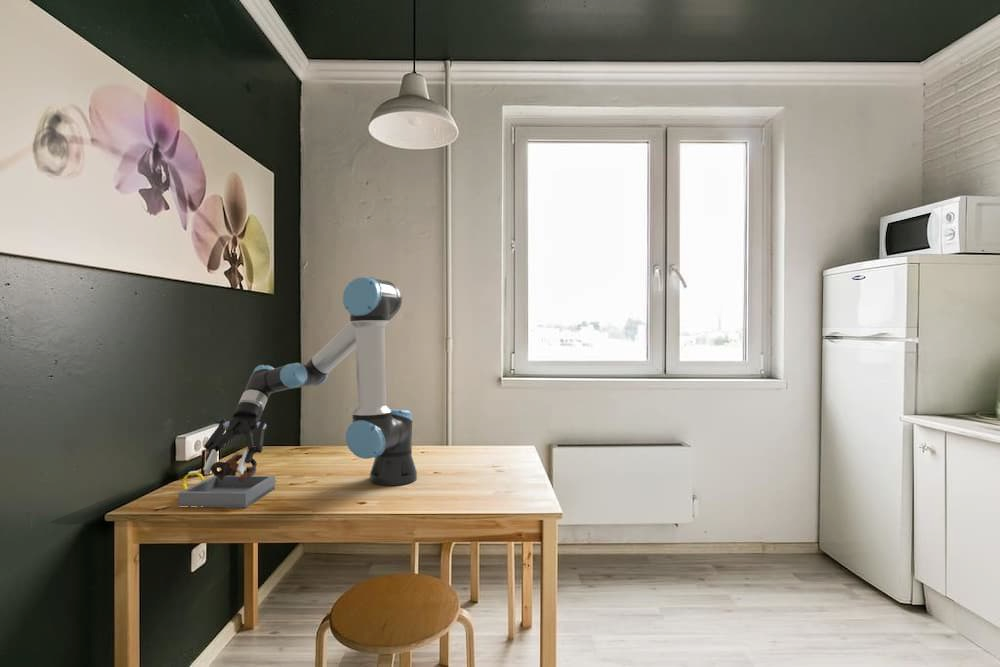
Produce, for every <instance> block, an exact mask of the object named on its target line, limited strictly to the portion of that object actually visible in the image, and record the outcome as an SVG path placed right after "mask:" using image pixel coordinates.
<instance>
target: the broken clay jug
mask: <svg viewBox="0 0 1000 667" xmlns="http://www.w3.org/2000/svg"><path fill="white" fill-rule="evenodd" d="M242 456H243V454H241V453H238V454H234V455H232V457H231V458H229V459H227V460H226V461H224V462H223V461H215V463H214V464H213V465H212V467H211V473H212V474H213V476H218V477H219V479H220V480H223V477H225V476H237V475H236V474H237V473H238V474H239V472H238V471H237V468H238V466H239V461H240V460H241V458H242ZM250 464H251V465H252V466H246V468H245V470H244V473H243V475H239V476H240V478H239V482H242V483H243V482H244V481H245V480H246V478H249V477H251V476H255V474H256V471H257V468H256V467H257V461H256V459H254V458H253V457H252V460H251V462H250ZM219 468H220V470H218V469H219Z"/></svg>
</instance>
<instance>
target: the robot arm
mask: <svg viewBox="0 0 1000 667" xmlns="http://www.w3.org/2000/svg"><path fill="white" fill-rule="evenodd" d="M402 302H403V297H402V293H401V291H400V289H399V287H398V286H397V285H395V284H394V283H392V282H391V281H388V280H382V279H378V278H374V277H373V276H372V277H371V276H370V277H367V276H358V277H356V278H354V279H352V280H351V281H350V282H349V283H348V284H347V285H346V286H345V288H344V290H343V292H342V304H343V307H344V308H345V310H346V311H347V312H348V314H349V318H350V321H349V322H347V324H346V325H345V326H344V327H343V328H342V329H341V330H340V331H339V332H338V333H336V335H334V336H333V337H332V338H331V339H330V340H329V341H328V342H327V343H326V344H325V345H324V346H323V347H322V348H321V349H320V350H319V351H318V352H317V353H316V354H315V355H314V356H312V358H310V360H308V361H307V362H306V363H302V364H301V363H300V362H294V363H288V364H286V365H282V366H279V367H275V368H274V367H273V366H271V365H269V364H266V365H264V364H261V365H260V364H259V365H258V366H256V367H255V368H254V369H253V372H252V373H251V374H250V376H249V379H248V382H247V384H246V386H245V389H244V391H243V393H242V395H241V397H240V400H239V402H238V404H237V406H236V409H235V410H234V413H233V417H232V418H231V419H230V420H228V421H225V420H224V419H222V420H220V421H219V423H218V425H217V427H216V429H215V430H214V432H212V434H211V435H210V437H209V438H208V440H206V442H205V444H204V445H203V446H204V449H205V450H206V452H208V453H207V454H206V456H205V457H204V460H205V461H206V463H205V464H204V467H203V468H202V470H203V471H204V472H205V474H206V475H210V474H211V473H212V471H211V467H212V465H213V464H214V463H216V462H217V461H216V460H217V458H218V456H219V453H218V452H219V451H220V450H221V449H222V448H223V447H224V446H225V445H226V444H227V443H228V442H229V441H230V440H231V439H232V438H235V437H236V436H237V435H240V436H241V435H242V436H243V435H245V437H246V442H247V449H244V451H243V454H242V455H243V456H242V458H241V459H240V460H239V462H238V464H239V466H238V468H237V471H238V472H239V473H238V472H237V473H238V474H239V476H241V475H243V473H244V471H246V469H247V465H248V464H251V460H252V458H253V456H254V455H255V454H256V453H259V454H261V453H262V451H263V446H264V438H265V432H266V431H267V430H266V429H267V428H268V425H267V424H266V422H265V420H261V418H262V415H263V411H264V410H265V407H266V404H267V403H268V400H269V398H270V396H271V394H273V393H278V392H281V391H286V390H290V389H297V388H303V387H312V386H313V387H314V386H319V385H321V384H323V383H326V382H327V380H328V377H329V373H330V372H331V371H333V369H335V367H338V366H337V365H339V364H340V363H341V362H342V361H343V360H344V359H345V358H346V357H348V356H349V354H351V353H352V352H353V351H354V350H355V352H356V353H355V354H356V355H355V356H356V361H355V362H356V394H357V395H356V397H357V400H356V401H357V402H356V403H357V407H356V408H355V409H354V410H353V411H352V423H351V424H350V425H349V427H348V428H347V429H346V432H345V443H346V446H347V448H348V449H349V451H350V452H351V453H353V455H354V456H355V457H357V458H361V459H365V460H368V459H373V458H374V461H373V463H372V466H371V470H370V473H369V481H370V482H371V483H372V484H375V485H379V486H400V485H408V484H410V483H413V482H415V481H416V480H417V479H418V474H417V473H418V472H417V468H416V465H415V462H414V459H413V456H412V451H413V450H412V448H413V445H412V444H413V441H412V440H413V414H412V412H411V410H408V409H395V408H393V409H392V408H391V409H390V407H389V406H387V380H386V378H387V377H386V376H387V375H386V373H387V372H386V333H385V331H386V330H385V327H387V325H388V324H389V323H390V321H391V320H392V319H393V318H394V317H395V315H396V314H398V312H399V311H400V309H401V307H402ZM260 420H261V421H260ZM256 428H257V430H256V437H255V438H256V439H255V443H254V436H253V435H254V434H253V431H254V430H255V429H256Z"/></svg>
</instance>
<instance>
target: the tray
mask: <svg viewBox="0 0 1000 667" xmlns="http://www.w3.org/2000/svg"><path fill="white" fill-rule="evenodd" d="M240 476H241V475H235V476H225V477H223V480H220V479H219V477H218V476H215V475H213V476H211V477H209V478H207V479H205V480H204V481H202V480H201V481H200V482H198V483H196V484H194V485H192V486H190V487H188V488H187V489H183V490H181V491H179V492H178V500H177V501H178V503H177V504H178V505H177V506H188V507H191V506H197V507H201V506H203V507H216V508H215V509H246V508H248V507H249V506H251V505H253V504H254V503H256V502H257V501H259V500H260V499H262V498H263V497H265V496H266V494H267V495H268V494H270V493H271V492H272V490H273V491H274V490H275V489H276V475H252V476H251V477H249V478H246V480H245V481H244V482H243V483H242V482H239V478H240ZM269 492H270V493H269ZM219 507H220V508H219Z"/></svg>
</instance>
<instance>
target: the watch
mask: <svg viewBox="0 0 1000 667" xmlns="http://www.w3.org/2000/svg"><path fill="white" fill-rule="evenodd" d="M195 475H196V476H197V477H199V478H200V480H201V482H202V481H204V480H206V479H205V477H204V476H203V474H202V473H200V471H199V470H191V471H189V472H188V473H187V474H186V475H185V476H184V477H183V479H182V487H183V490H185V489H187V488H189V487H188V485H187V479H188V477H189V476H195Z"/></svg>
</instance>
